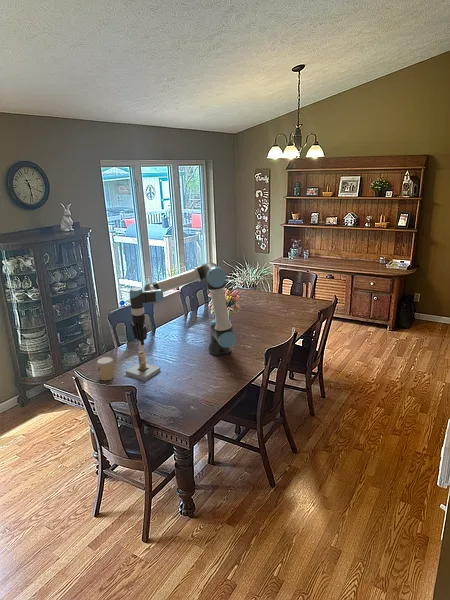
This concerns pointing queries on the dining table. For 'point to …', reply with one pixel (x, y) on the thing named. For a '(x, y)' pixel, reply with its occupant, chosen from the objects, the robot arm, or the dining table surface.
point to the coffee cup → (105, 368)
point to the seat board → (144, 375)
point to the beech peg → (142, 361)
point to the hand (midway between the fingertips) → (141, 349)
